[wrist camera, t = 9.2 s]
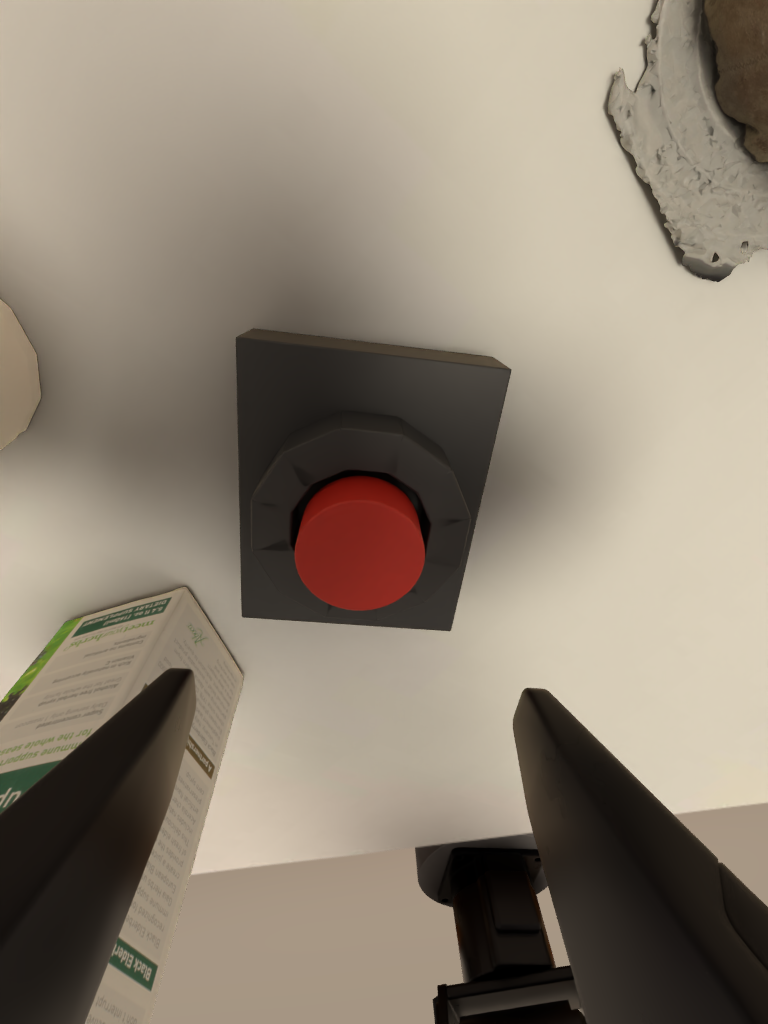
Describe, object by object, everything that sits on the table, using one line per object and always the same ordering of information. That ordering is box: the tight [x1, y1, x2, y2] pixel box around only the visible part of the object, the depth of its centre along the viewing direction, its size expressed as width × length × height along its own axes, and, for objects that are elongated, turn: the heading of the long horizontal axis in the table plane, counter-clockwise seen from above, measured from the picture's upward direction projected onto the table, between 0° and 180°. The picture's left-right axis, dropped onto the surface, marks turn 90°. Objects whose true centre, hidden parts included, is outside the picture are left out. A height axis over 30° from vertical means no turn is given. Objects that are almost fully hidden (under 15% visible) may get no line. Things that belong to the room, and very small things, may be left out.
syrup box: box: [0, 587, 244, 1024], centre depth 15 cm, size 6×6×14 cm
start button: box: [295, 476, 425, 611], centre depth 14 cm, size 4×4×2 cm
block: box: [236, 329, 511, 631], centre depth 16 cm, size 10×8×4 cm
